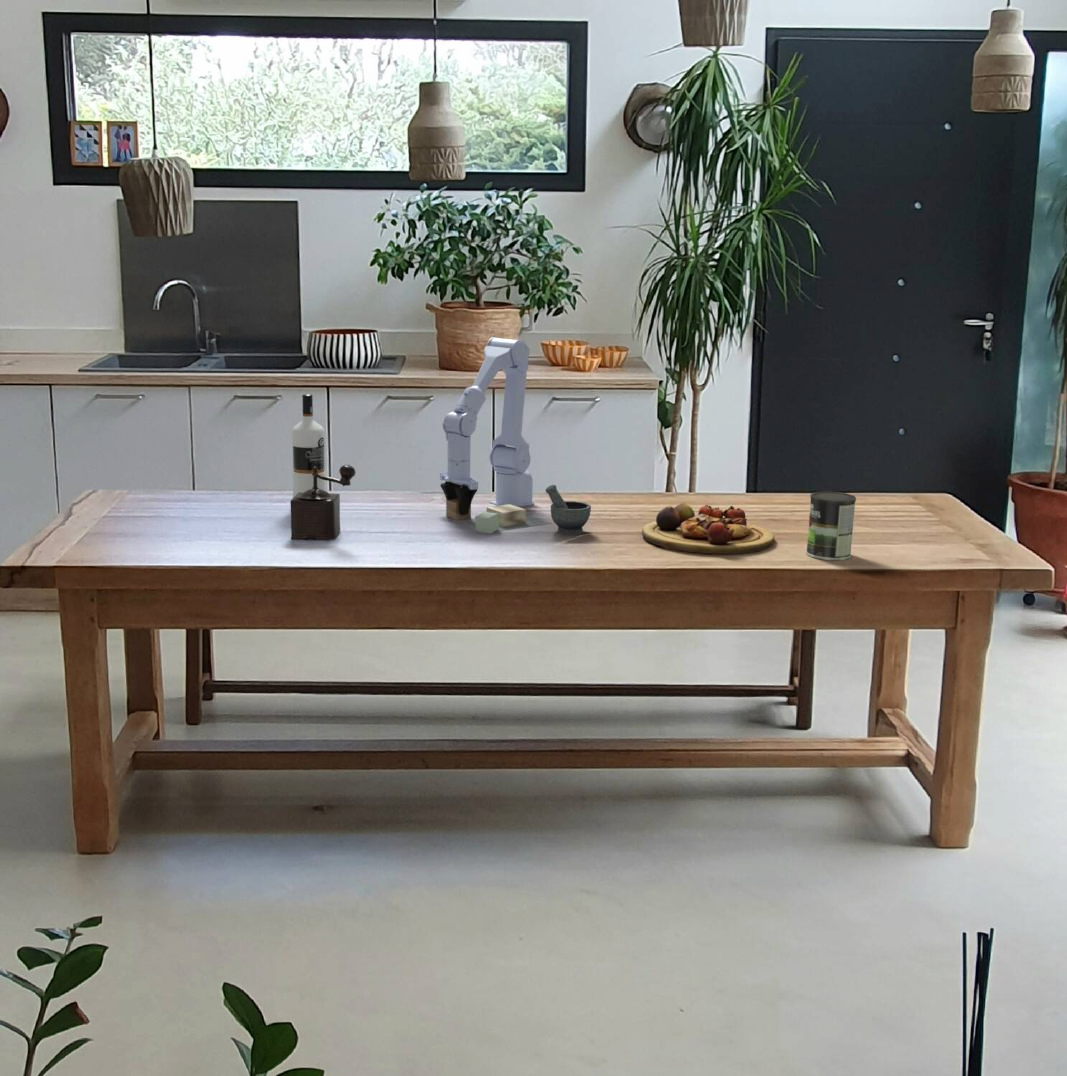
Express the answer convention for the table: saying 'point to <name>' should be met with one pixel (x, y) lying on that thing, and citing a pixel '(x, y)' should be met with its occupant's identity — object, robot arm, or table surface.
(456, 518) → the walnut cube
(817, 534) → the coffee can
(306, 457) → the vodka
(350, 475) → the manual coffee grinder
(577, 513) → the mortar and pestle
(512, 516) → the beech block
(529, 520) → the slate mat
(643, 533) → the wooden plate with food
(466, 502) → the robot arm
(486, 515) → the sage block
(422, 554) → the table surface
